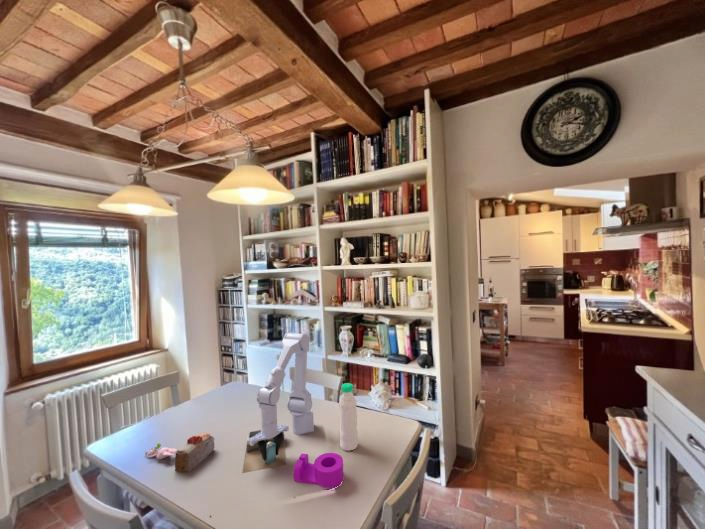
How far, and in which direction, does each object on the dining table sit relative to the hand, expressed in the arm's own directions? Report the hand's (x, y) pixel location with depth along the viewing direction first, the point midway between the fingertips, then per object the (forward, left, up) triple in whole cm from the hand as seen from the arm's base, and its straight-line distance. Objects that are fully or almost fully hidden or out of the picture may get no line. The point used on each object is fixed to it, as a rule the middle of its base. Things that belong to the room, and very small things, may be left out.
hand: (270, 456), depth 110 cm
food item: (+28, -9, -3) cm, 29 cm away
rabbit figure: (+41, -16, -3) cm, 44 cm away
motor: (+2, -11, -1) cm, 11 cm away
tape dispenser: (-17, +13, -3) cm, 22 cm away
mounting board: (+2, -6, -3) cm, 7 cm away
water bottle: (-30, -1, -3) cm, 31 cm away
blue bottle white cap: (0, 0, -1) cm, 1 cm away
